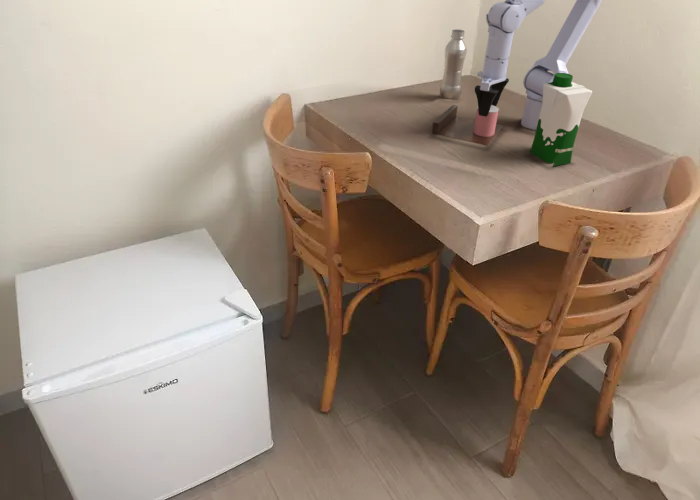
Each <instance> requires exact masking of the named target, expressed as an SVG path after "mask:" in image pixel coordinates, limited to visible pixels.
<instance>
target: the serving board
mask: <svg viewBox="0 0 700 500" xmlns="http://www.w3.org/2000/svg"><path fill="white" fill-rule="evenodd" d="M458 107H459V106H458V105H455V104H452V105H451V106H450V107H449V108H447V109H446V110H445V111H444V112H443V113H442V114H441V115H440V116H438V117H437V118H436V119H434V121H433V122H432V129H431V134H433V135H438V136H442V137H446V138H451V139H455V140H459V141H465V142H469V143H473V144H478V145H482V146H486V147H488V146H489V145H490V144H491V142H492V141H493V140H494V139H495V138H496V136H497V135H498V134H499V133H500V132H501V130H502V129H503V128H504V125H500V124H496V127H495V132H494V135H493V136H490V137H483V136H478V135H476V134H474V132H473V131H474V125H475V119H471V118H467V117H462V116H458V115H457V114H458Z"/></svg>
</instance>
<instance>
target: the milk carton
mask: <svg viewBox="0 0 700 500" xmlns="http://www.w3.org/2000/svg"><path fill="white" fill-rule="evenodd" d="M573 78H574V76H573V75H572V74H570V73H569V74H567V73H556V74H555V75H554V79H553V82H551V83H547V84H543V102H542V107H541V112H540V116H539V120H538V124H537V129H536V130H535V133H534V137H533V141H532V144H531V147H530V151H529V153H530V154H531V155H533V156H534V157H536V158H538V159H539V160H541V161H543V162H544V163H546V164H549V165H552V167H559V166H563V165H568V164H571V161H572V157H573V151H574V145H575V142H576V138H577V136H578V135H577V134H578V131H579V127H580V124H581V120H582V116H583V114H584V110H585V108H586V106H587V104H588V102H589V100H590V99H591V96H592V94H593V90H591V89H589V88H586V87H585V86H584V85H580V84H578V83H576V82H574V81H573Z"/></svg>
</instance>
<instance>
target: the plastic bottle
mask: <svg viewBox="0 0 700 500" xmlns="http://www.w3.org/2000/svg"><path fill="white" fill-rule="evenodd" d="M465 32H466V31H465V30H463V29H452V30H451V35H450V38H451V39H450V41H448V42H447V44H446V46H445V48H444V69H443V76H442V81H441V84H440V88H439V95H440V98H441V99H447V100H452V101H457V100H459V98H460V97H461V94H462V76H463V75H462V74H463V68H464V63H465V59H466V57H467V52H468V49H467V45H466V43H465V41H464V39H465V34H466V33H465Z"/></svg>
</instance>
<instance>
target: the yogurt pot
mask: <svg viewBox="0 0 700 500" xmlns="http://www.w3.org/2000/svg"><path fill="white" fill-rule="evenodd" d="M499 111H500V108H499V107H498V106H497V105H496V106H493V105H491V108H490V111H489V113H488V115H487V117H485V116H481V115H479V112H478V105H477V107H476V114H475V119H474V120H475V125H474V131H473V132H474V134H476V135H478V136H483V137H490V136H493V135H494V132H495V127H496V125H497V121H498V116H499Z"/></svg>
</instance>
